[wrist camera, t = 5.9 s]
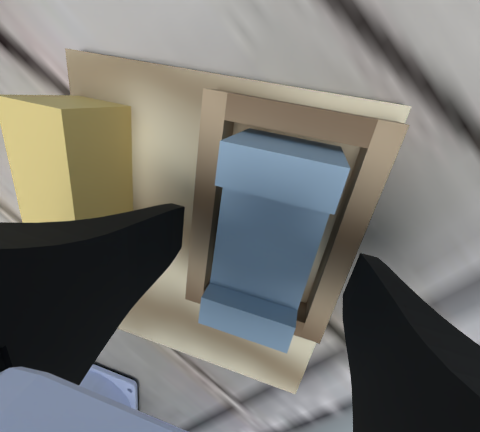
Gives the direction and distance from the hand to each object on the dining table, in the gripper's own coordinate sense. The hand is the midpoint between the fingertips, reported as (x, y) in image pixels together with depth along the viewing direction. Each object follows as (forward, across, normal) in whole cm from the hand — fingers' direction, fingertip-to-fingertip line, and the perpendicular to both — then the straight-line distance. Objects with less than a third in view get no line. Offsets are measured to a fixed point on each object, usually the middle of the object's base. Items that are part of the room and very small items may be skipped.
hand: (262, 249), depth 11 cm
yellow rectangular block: (+3, +10, +1) cm, 10 cm away
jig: (+4, +4, +3) cm, 6 cm away
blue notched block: (+3, 0, 0) cm, 3 cm away
